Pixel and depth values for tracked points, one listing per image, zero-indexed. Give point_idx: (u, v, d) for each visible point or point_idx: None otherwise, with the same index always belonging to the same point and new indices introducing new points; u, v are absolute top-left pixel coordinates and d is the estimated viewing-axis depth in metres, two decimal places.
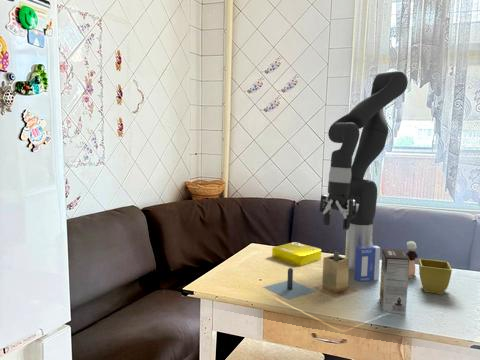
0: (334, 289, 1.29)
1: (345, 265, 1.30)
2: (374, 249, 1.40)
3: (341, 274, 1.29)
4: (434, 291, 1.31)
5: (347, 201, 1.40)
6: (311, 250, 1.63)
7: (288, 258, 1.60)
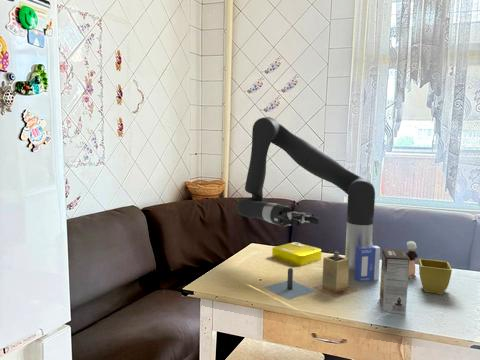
0: (334, 289, 1.29)
1: (345, 265, 1.30)
2: (374, 249, 1.40)
3: (341, 274, 1.29)
4: (434, 291, 1.31)
5: None
6: (311, 250, 1.63)
7: (288, 258, 1.59)
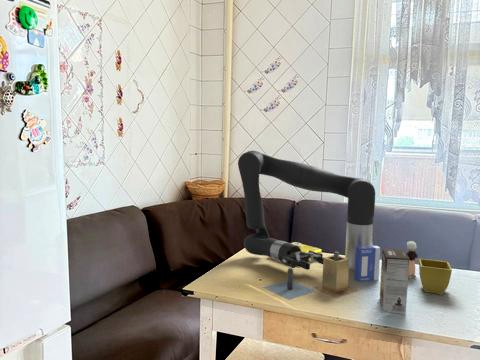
0: (334, 289, 1.29)
1: (345, 265, 1.30)
2: (374, 249, 1.40)
3: (341, 274, 1.29)
4: (434, 291, 1.31)
5: None
6: (311, 250, 1.63)
7: None
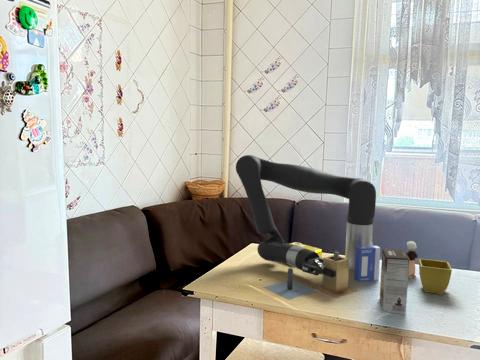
0: (334, 289, 1.29)
1: (345, 265, 1.30)
2: (374, 249, 1.40)
3: (341, 274, 1.29)
4: (434, 291, 1.31)
5: None
6: None
7: None
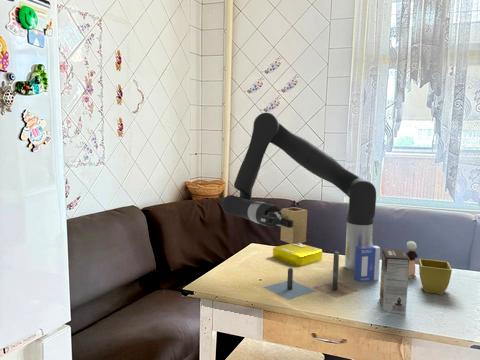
0: (291, 240, 1.27)
1: (303, 216, 1.28)
2: (374, 249, 1.40)
3: (299, 224, 1.27)
4: (434, 291, 1.31)
5: None
6: (311, 250, 1.63)
7: (288, 258, 1.59)
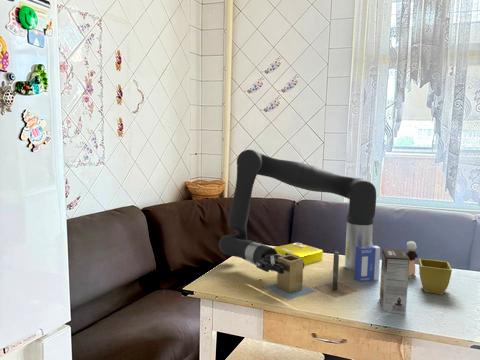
0: (287, 289, 1.28)
1: (299, 265, 1.29)
2: (374, 249, 1.40)
3: (295, 274, 1.29)
4: (434, 291, 1.31)
5: None
6: (312, 251, 1.62)
7: None
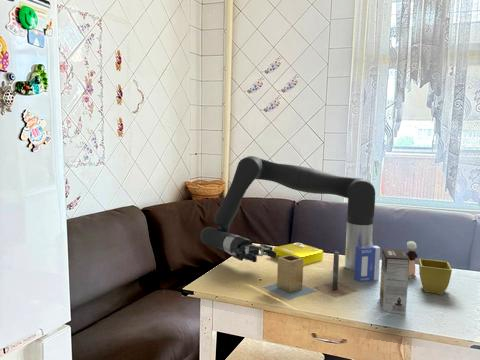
0: (287, 289, 1.28)
1: (299, 265, 1.29)
2: (374, 249, 1.40)
3: (295, 274, 1.29)
4: (434, 291, 1.31)
5: None
6: (312, 251, 1.62)
7: None
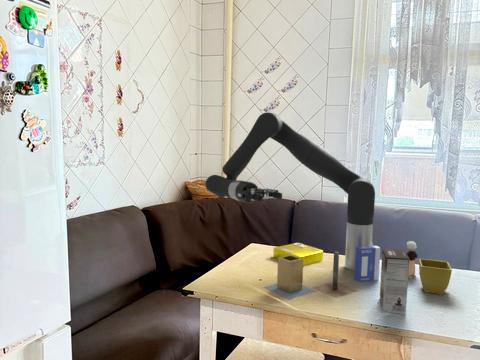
0: (287, 289, 1.28)
1: (299, 265, 1.29)
2: (374, 249, 1.40)
3: (295, 274, 1.29)
4: (434, 291, 1.31)
5: None
6: (312, 251, 1.62)
7: None
